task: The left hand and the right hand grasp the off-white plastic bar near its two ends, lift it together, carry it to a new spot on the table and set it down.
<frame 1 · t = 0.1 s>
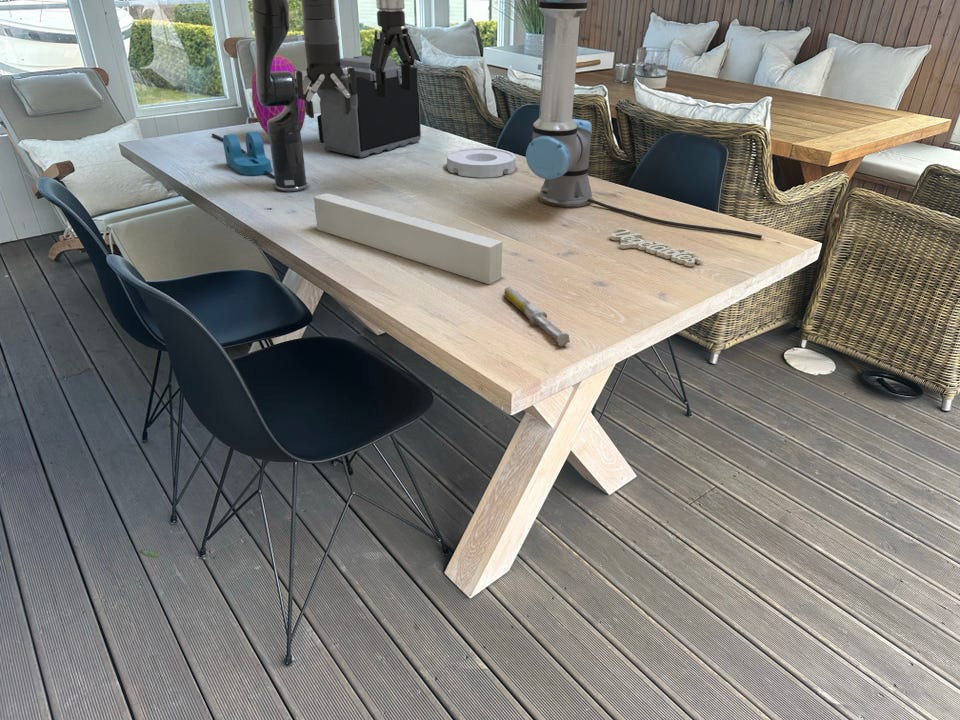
left hand: (328, 115, 163), 29 cm above the table, tool pointing down, fingers open, 8 cm apart
right hand: (394, 93, 197), 28 cm above the table, tool pointing down, fingers open, 13 cm apart
bar: (402, 252, 167), on the table
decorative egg: (284, 140, 265), on the table
electronic device: (371, 146, 258), on the table
camera mount: (251, 168, 229), on the table
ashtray: (481, 168, 233), on the table
decorative sign: (650, 250, 169), on the table
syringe: (534, 320, 136), on the table
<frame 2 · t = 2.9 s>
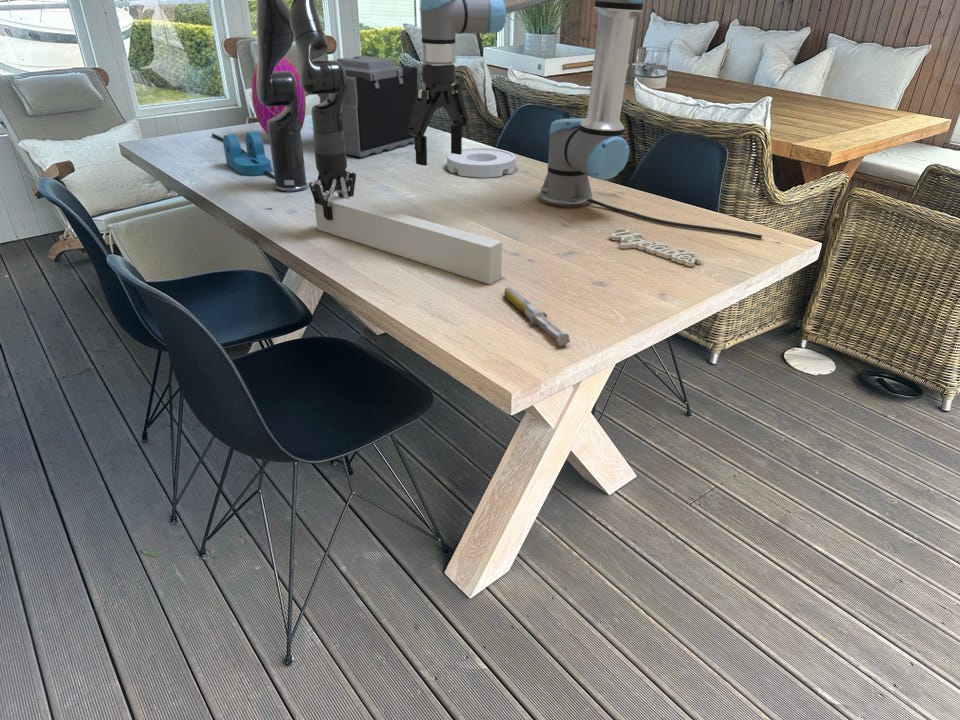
left hand: (336, 216, 176), 4 cm above the table, tool pointing down, fingers closed on bar, 4 cm apart
right hand: (439, 159, 165), 20 cm above the table, tool pointing down, fingers open, 13 cm apart
bar: (402, 251, 167), on the table, touching left hand
everything else where it was.
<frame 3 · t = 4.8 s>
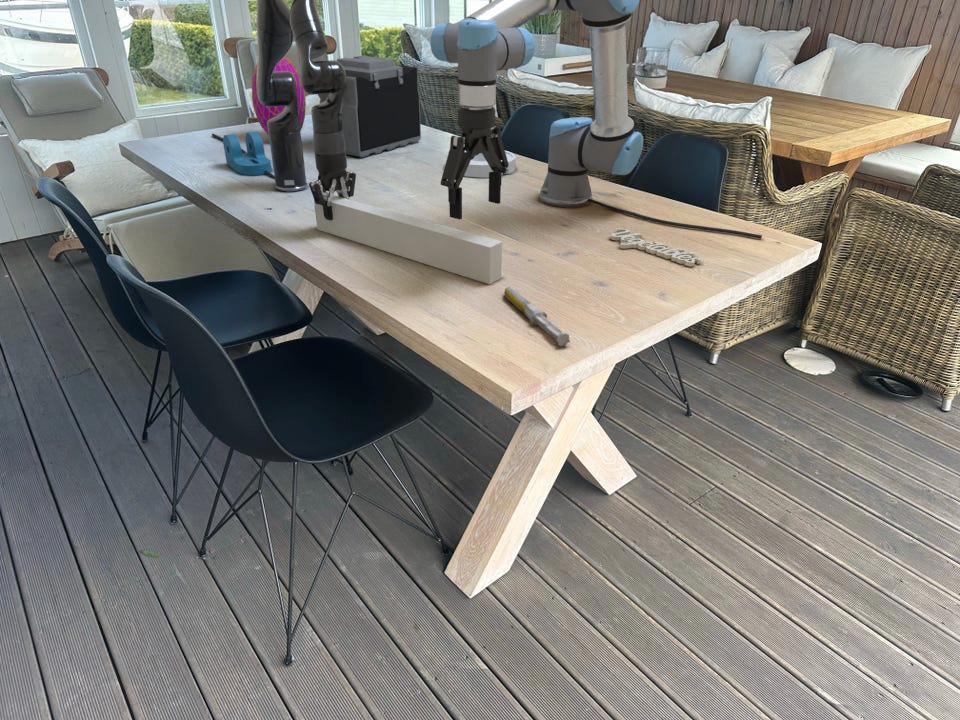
left hand: (336, 216, 176), 4 cm above the table, tool pointing down, fingers closed on bar, 4 cm apart
right hand: (475, 210, 147), 15 cm above the table, tool pointing down, fingers open, 13 cm apart
bar: (402, 251, 167), on the table, touching left hand
everything else where it was.
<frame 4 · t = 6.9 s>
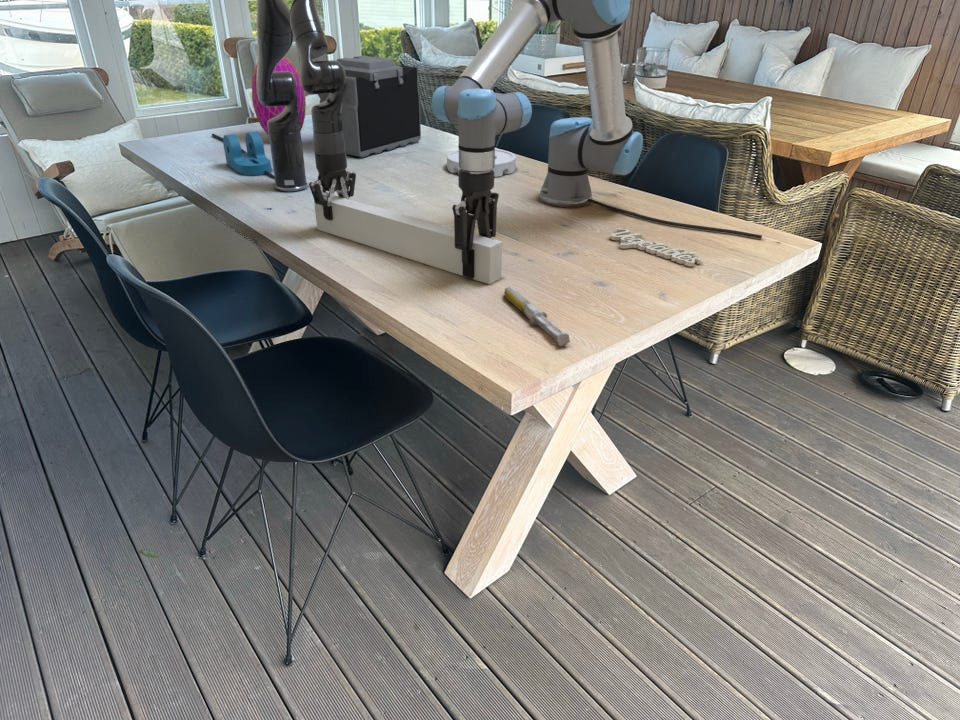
left hand: (336, 216, 176), 4 cm above the table, tool pointing down, fingers closed on bar, 4 cm apart
right hand: (475, 272, 155), 1 cm above the table, tool pointing down, fingers closed on bar, 4 cm apart
bar: (402, 251, 167), on the table, touching right hand, left hand
everything else where it was.
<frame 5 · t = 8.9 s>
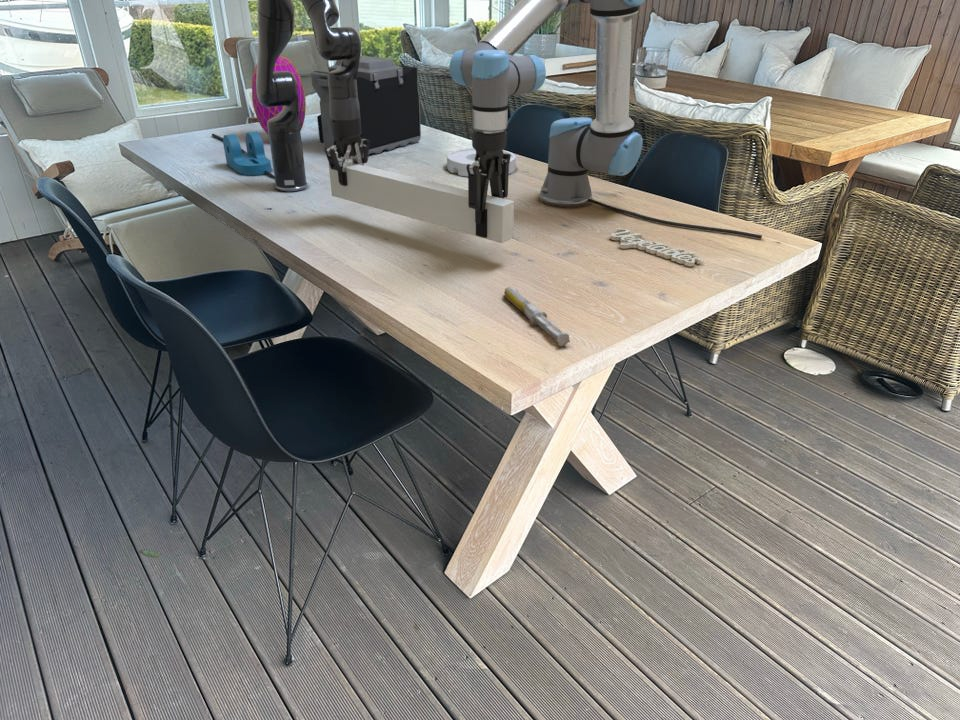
left hand: (351, 182, 181), 10 cm above the table, tool pointing down, fingers closed on bar, 4 cm apart
right hand: (488, 232, 159), 7 cm above the table, tool pointing down, fingers closed on bar, 4 cm apart
bar: (415, 215, 171), point 6 cm above the table, touching right hand, left hand
everything else where it was.
when the right hand's fingers open (2 cm above the table, at t = 10.7 s): bar drops 1 cm, on the table.
when the left hand's fingers open (5 cm above the table, at t = 10.9 s): bar stays where it is, on the table.
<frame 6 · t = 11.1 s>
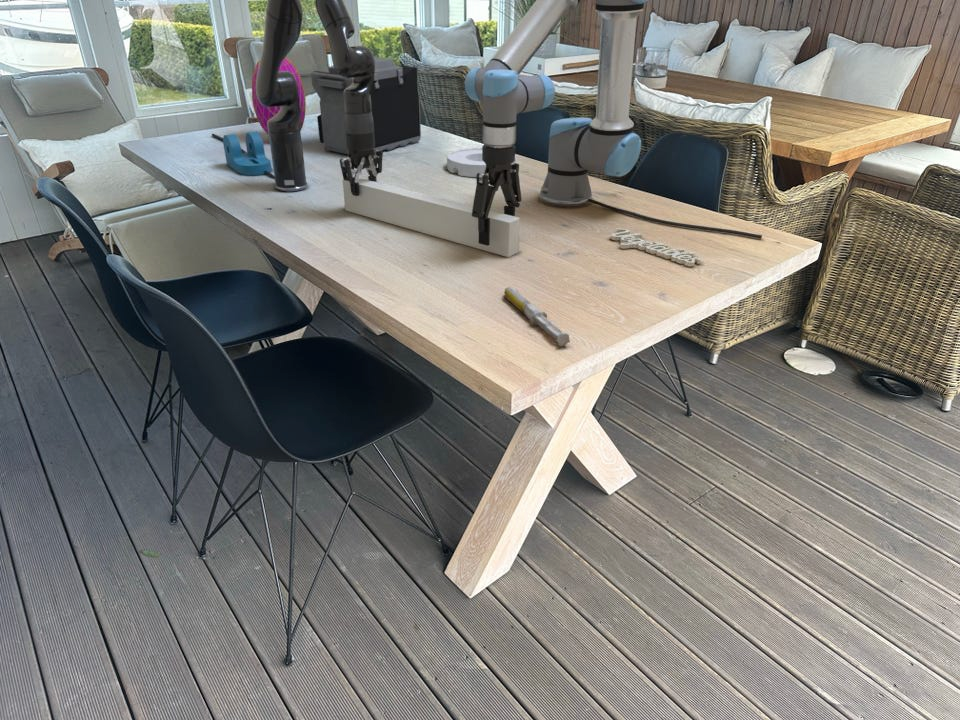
left hand: (364, 192, 189), 6 cm above the table, tool pointing down, fingers open, 6 cm apart
right hand: (496, 238, 167), 3 cm above the table, tool pointing down, fingers open, 9 cm apart
bar: (425, 229, 180), on the table
everything else where it was.
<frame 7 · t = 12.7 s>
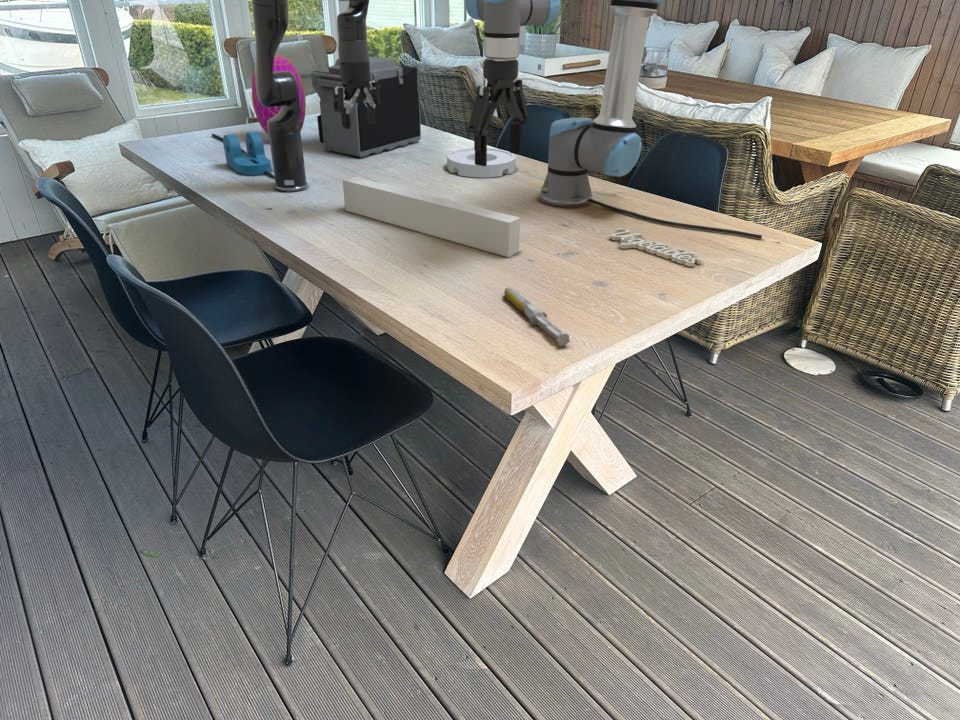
left hand: (359, 125, 180), 23 cm above the table, tool pointing down, fingers open, 8 cm apart
right hand: (498, 159, 157), 22 cm above the table, tool pointing down, fingers open, 13 cm apart
nothing on the table moved.
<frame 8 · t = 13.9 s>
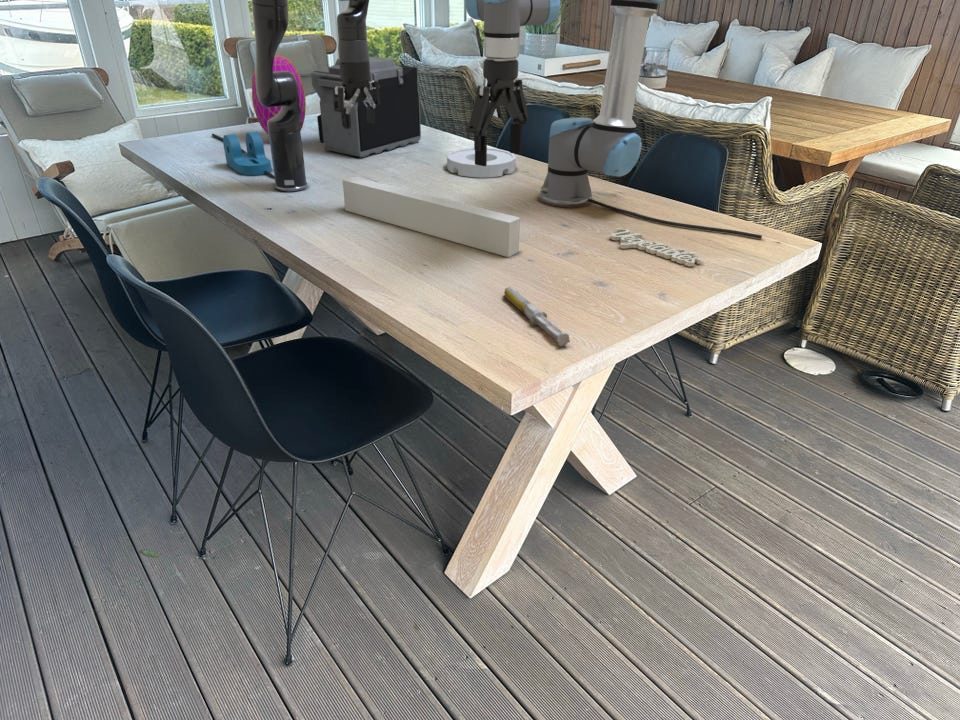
left hand: (359, 125, 180), 23 cm above the table, tool pointing down, fingers open, 8 cm apart
right hand: (498, 159, 157), 22 cm above the table, tool pointing down, fingers open, 13 cm apart
nothing on the table moved.
at the end: bar inside the target area (0.6 cm from its centre), on the table; bar tilted 0°; bar never tilted more than 2° during the clip; both hands held the bar at the same time; the left hand is holding nothing; the right hand is holding nothing; bar at rest at the end (0.0 cm/s) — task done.
